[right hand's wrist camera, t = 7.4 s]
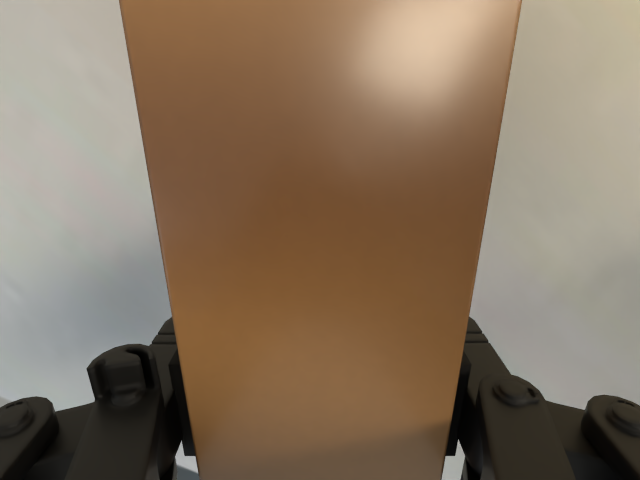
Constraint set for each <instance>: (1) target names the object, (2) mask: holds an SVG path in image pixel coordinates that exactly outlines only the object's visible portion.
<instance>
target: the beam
mask: <svg viewBox="0 0 640 480" xmlns="http://www.w3.org/2000/svg"><path fill="white" fill-rule="evenodd" d="M119 3H120V9H121V15H122V21H123V27H124V33H125V39H126V45H127V51H128V57H129V63H130V69H131V75H132V80H133V86H134V92H135V98H136V104H137V110H138V116H139V122H140V128H141V134H142V140H143V146H144V152H145V158H146V164H147V170H148V176H149V182H150V188H151V193H152V199H153V205H154V211H155V217H156V223H157V229H158V235H159V241H160V247H161V253H162V259H163V265H164V271H165V277H166V283H167V289H168V295H169V301H170V306H171V312H172V318H173V324H174V330H175V336H176V342H177V348H178V354H179V360H180V366H181V372H182V378H183V384H184V390H185V396H186V402H187V408H188V413H189V419H190V425H191V431H192V437H193V443H194V449H195V455H196V461H197V467H198V473H199V479H200V480H441V479H442V473H443V467H444V461H445V455H446V449H447V443H448V437H449V432H450V426H451V420H452V414H453V408H454V402H455V396H456V390H457V384H458V378H459V372H460V366H461V360H462V354H463V348H464V342H465V336H466V330H467V324H468V319H469V313H470V307H471V301H472V295H473V289H474V283H475V277H476V271H477V265H478V259H479V253H480V247H481V241H482V235H483V229H484V223H485V217H486V212H487V206H488V200H489V194H490V188H491V182H492V176H493V170H494V164H495V158H496V152H497V146H498V140H499V134H500V128H501V122H502V116H503V110H504V104H505V99H506V93H507V87H508V81H509V75H510V69H511V63H512V57H513V51H514V45H515V39H516V33H517V27H518V21H519V15H520V9H521V3H522V0H119Z"/></svg>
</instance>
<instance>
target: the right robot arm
mask: <svg viewBox="0 0 640 480" xmlns="http://www.w3.org/2000/svg"><path fill="white" fill-rule="evenodd" d="M87 372H88V375H89V379H90V383H91V386H92V390H93V393H94V397H95V402H93V403H89V404H86V405H82V406H78V407H74V408H69V409H65V410H61V411H56V412H55V410H54V407H53V404H52V402H50V401H49V400H48V399H47V398H43V397H29V398H22V399H19V400H17V401H14V402H11V403H8V404H6V405H4V406H2V407H1V408H0V480H177V466H176V460H175V455H176V453H177V450H178V448H179V445H180V443H181V440H182V444H183V449H184V455H185V456H196V455H195V449H194V443H193V437H192V431H191V425H190V419H189V413H188V408H187V402H186V396H185V390H184V384H183V378H182V372H181V366H180V360H179V354H178V348H177V342H176V336H175V330H174V324H173V318H172V317H171V318H170V319H169V320H167V321H166V322H165V323H164V325H163V326H162V328H161V329H160V331H159V332H158V335H156V337H155V338H154V340H153V341H152V344H150V346H146V345H142V344H127V345H123V346H119V347H115V348H113V349H111V350H108V351H106V352H104V353H102V354H101V355H100V356H98V357H97V358H95V359H94V360H93V361H92V362H91V363H90V365H89V366H88V367H87ZM458 439H459V441H460V444H461V446H462V449H463V451H464V454H465V460H464V465H463V470H462V475H461V480H640V406H639V405H637V404H636V403H634V402H631V401H628V400H626V399H623V398H620V397H616V396H609V395H600V396H594V397H593V398H591V399H590V400H589V401H588V403H587V406H586V409H585V410H582V409H577V408H573V407H569V406H565V405H560V404H556V403H553V402H549V401H546V400H545V399H544V397H543V396H542V394H541V393H540V391H539V390H538V389H537V388H536V387H534V386H533V385H532V384H531V383H529V382H528V381H526V380H524V379H522V378H520V377H518V376H514V375H511V374H510V372H509V371H508V369H507V368H506V366H505V365H504V363H503V362H502V360H501V359H500V358H499V356H498V355H497V353H496V352H495V350H494V349H493V347H492V346H491V344H490V343H488V340H487V338H486V337H485V335H484V334H482V331H481V329H480V328H479V326H478V325H477V323H476V322H475V321H474V320H473V319H472V318H470V317H469V319H468V324H467V330H466V336H465V342H464V348H463V354H462V360H461V366H460V372H459V378H458V384H457V390H456V396H455V402H454V408H453V414H452V420H451V426H450V432H449V437H448V443H447V449H446V455H445V456H455V453H456V448H457V442H458Z"/></svg>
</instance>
